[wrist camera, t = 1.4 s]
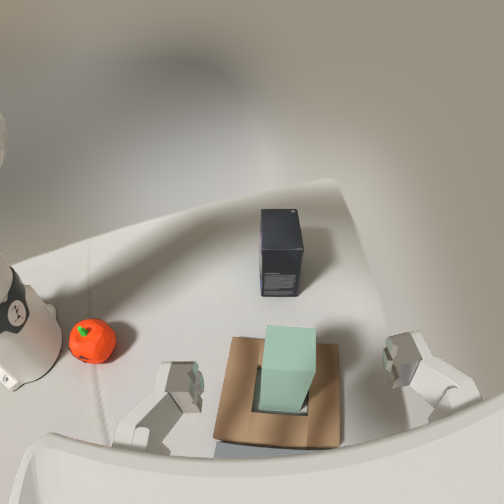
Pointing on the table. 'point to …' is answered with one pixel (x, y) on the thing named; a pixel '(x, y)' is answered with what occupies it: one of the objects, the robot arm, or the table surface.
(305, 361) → the green block
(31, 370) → the robot arm
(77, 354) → the pumpkin
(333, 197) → the table surface
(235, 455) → the rubber mat
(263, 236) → the small box
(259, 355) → the pocket board
